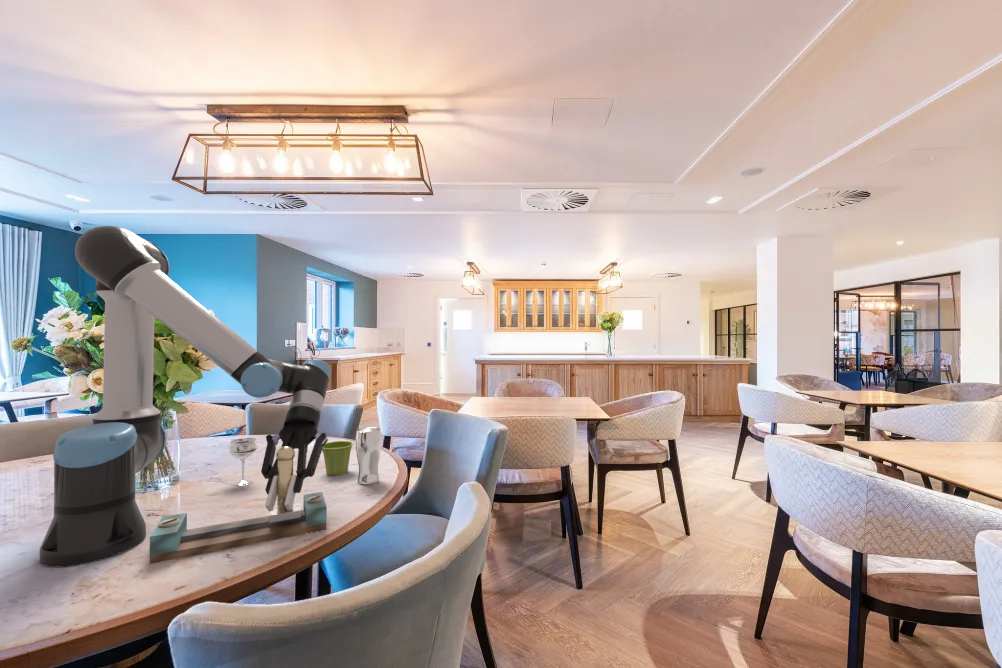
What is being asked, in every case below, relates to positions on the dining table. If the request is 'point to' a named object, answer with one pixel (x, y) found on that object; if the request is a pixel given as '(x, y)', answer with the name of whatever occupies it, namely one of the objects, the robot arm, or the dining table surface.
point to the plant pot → (337, 456)
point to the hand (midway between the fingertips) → (278, 507)
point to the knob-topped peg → (284, 487)
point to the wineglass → (242, 453)
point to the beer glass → (368, 454)
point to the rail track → (231, 532)
